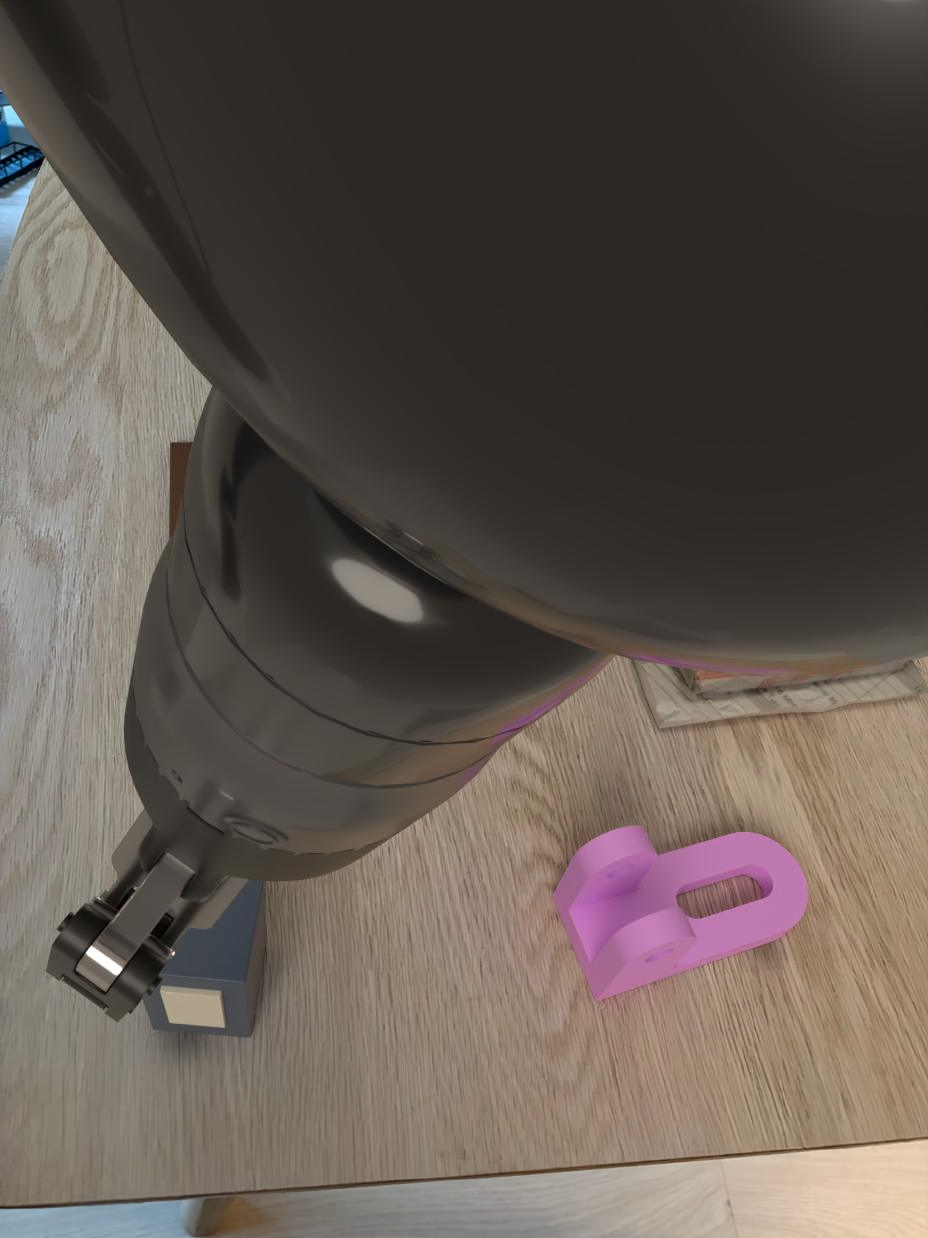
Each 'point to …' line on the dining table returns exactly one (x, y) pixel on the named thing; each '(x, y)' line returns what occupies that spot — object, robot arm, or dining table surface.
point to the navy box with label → (215, 972)
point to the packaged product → (767, 691)
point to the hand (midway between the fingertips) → (218, 823)
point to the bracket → (670, 905)
